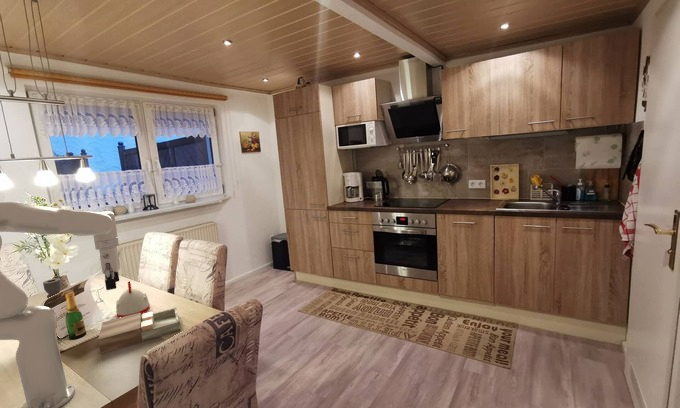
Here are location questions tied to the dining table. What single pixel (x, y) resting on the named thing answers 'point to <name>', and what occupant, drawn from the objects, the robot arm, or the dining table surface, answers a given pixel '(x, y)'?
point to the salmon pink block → (147, 325)
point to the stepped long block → (135, 330)
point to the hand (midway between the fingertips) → (113, 285)
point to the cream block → (148, 317)
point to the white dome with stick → (132, 302)
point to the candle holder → (52, 287)
